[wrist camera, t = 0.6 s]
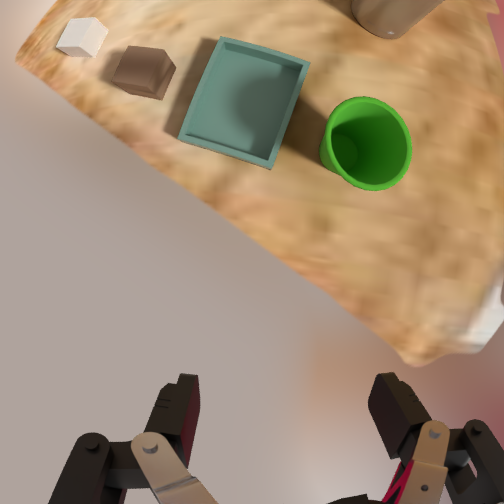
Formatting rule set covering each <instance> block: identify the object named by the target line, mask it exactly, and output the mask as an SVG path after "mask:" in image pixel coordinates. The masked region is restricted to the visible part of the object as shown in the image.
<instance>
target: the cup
mask: <svg viewBox="0 0 504 504" xmlns="http://www.w3.org/2000/svg"><path fill="white" fill-rule="evenodd" d="M319 156H320V159H321V162H322V163H323V165H324V166H325V167H326V168H327V169H328V170H330V171H332V172H334V173H336V174H338V175H340V176H342V177H343V178H344V180H346V181H347V182H349V183H350V184H352V185H353V186H355V187H358V188H361V189H363V190H369V191H379V190H385V189H387V188H389V187H392V186H394V185H395V184H396V183H397V182H399V181H400V180H401V179H402V178H403V176H404V175H405V173H406V171H407V170H408V167H409V164H410V161H411V156H412V143H411V137H410V134H409V131H408V128H407V126H406V124H405V123H404V121H403V119H402V118H401V117H400V115H399V114H398V113H397V112H396V111H395V110H394V109H393V108H392V107H390V106H389V105H387V104H386V103H384V102H382V101H380V100H378V99H375V98H370V97H365V96H363V97H353V98H350V99H348V100H345V101H343V102H342V103H341V104H339V105H338V106H337V107H336V108H335V109H334V110H333V112H332V113H331V114H330V116H329V119H328V121H327V124H326V128H325V135H324V137H323V139H322V141H321V144H320V146H319Z"/></svg>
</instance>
